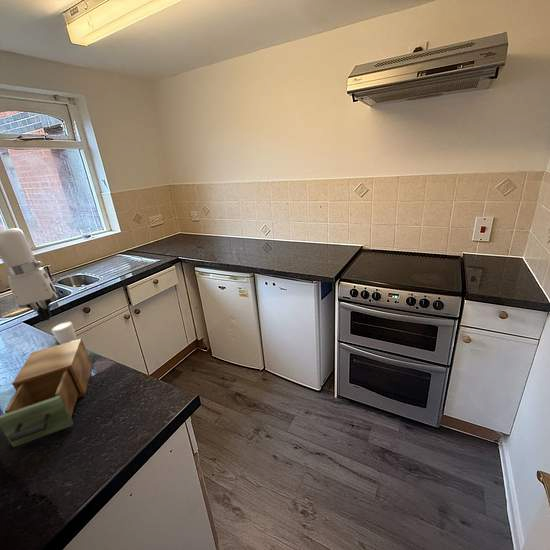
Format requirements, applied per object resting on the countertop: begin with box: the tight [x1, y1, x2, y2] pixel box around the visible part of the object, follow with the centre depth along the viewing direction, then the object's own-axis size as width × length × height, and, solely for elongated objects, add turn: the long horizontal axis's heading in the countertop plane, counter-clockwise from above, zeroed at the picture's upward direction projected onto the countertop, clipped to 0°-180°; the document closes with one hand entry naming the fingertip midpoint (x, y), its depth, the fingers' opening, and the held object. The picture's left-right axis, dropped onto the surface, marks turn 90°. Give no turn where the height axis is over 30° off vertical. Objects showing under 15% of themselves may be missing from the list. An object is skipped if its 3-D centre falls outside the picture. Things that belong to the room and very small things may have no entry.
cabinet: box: [11, 338, 94, 399], centre depth 88 cm, size 16×14×11 cm
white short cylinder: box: [50, 321, 78, 345], centre depth 115 cm, size 7×7×7 cm
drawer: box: [0, 369, 79, 448], centre depth 75 cm, size 19×12×9 cm, turn 23°
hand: (47, 318), depth 100 cm, fingers closed
